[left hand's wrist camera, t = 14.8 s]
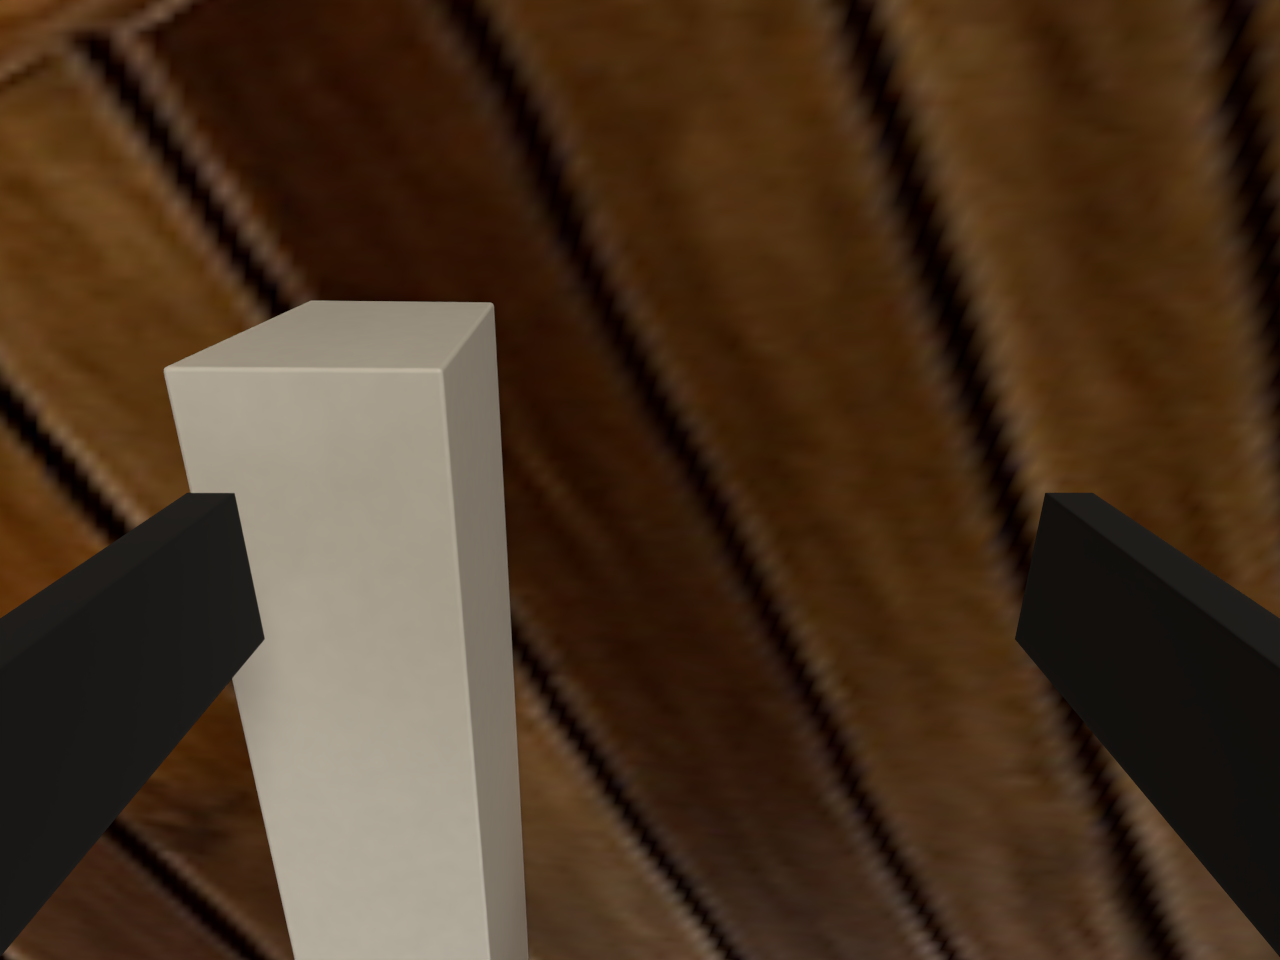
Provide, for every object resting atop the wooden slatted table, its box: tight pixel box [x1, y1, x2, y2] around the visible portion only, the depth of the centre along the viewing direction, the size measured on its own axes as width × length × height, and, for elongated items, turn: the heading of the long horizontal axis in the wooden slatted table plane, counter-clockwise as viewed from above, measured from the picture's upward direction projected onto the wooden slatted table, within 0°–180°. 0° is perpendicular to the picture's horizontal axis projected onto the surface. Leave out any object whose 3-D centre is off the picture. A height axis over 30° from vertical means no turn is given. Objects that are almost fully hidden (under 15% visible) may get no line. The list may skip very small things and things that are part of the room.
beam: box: [164, 301, 529, 960], centre depth 24 cm, size 34×5×8 cm, turn 179°
